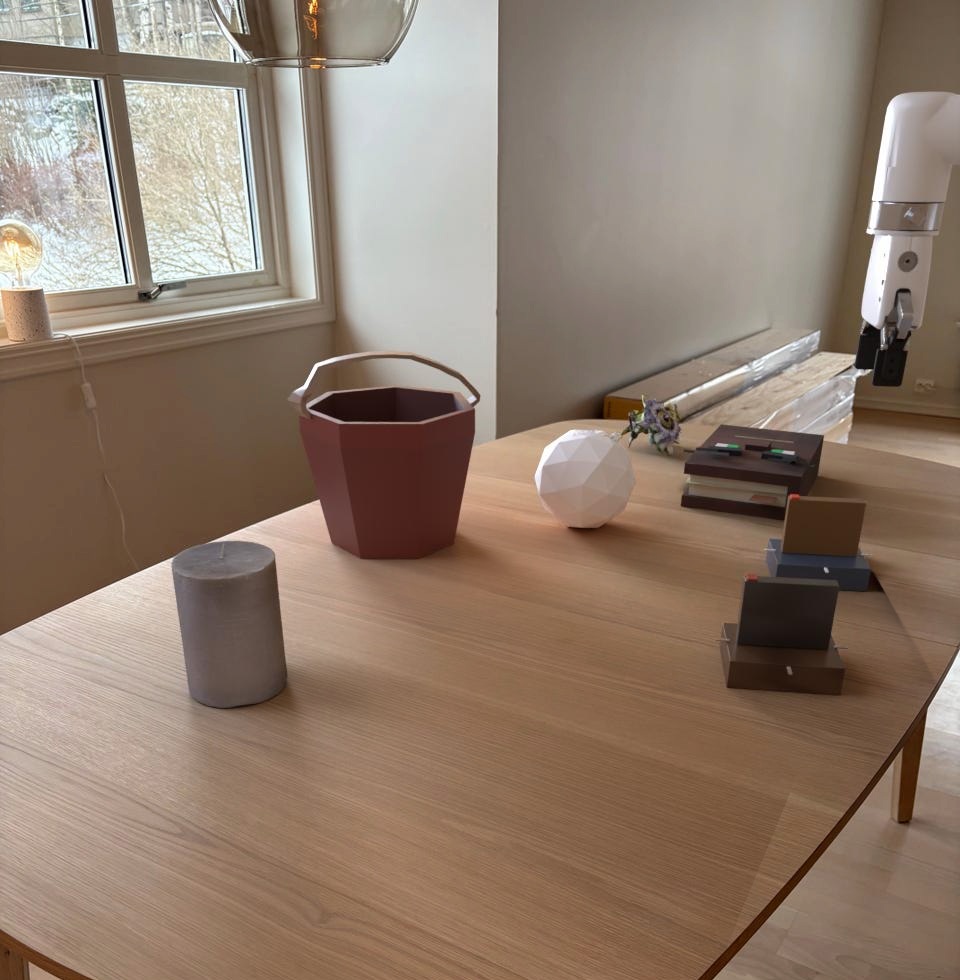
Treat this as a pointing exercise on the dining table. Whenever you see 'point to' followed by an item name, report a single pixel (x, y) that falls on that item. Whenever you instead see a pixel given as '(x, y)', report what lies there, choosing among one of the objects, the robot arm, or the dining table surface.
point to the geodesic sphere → (585, 478)
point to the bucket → (388, 460)
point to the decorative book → (751, 470)
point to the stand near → (780, 666)
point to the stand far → (819, 567)
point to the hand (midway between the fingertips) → (876, 377)
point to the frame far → (822, 525)
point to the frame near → (786, 612)
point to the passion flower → (656, 425)
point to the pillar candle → (230, 622)
